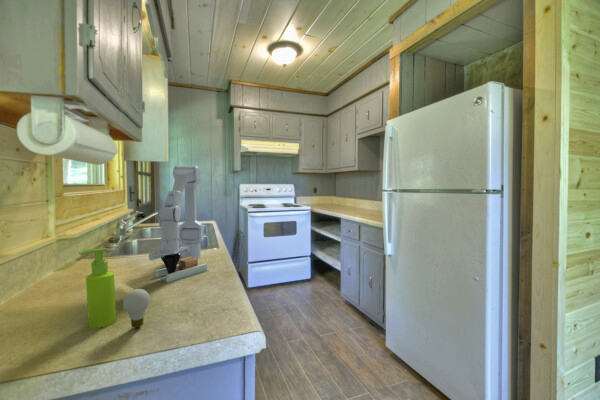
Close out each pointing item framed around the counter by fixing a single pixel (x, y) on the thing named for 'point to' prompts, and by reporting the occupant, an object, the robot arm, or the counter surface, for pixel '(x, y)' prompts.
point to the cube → (187, 263)
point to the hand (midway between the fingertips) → (171, 274)
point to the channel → (181, 273)
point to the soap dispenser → (100, 291)
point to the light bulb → (136, 306)
